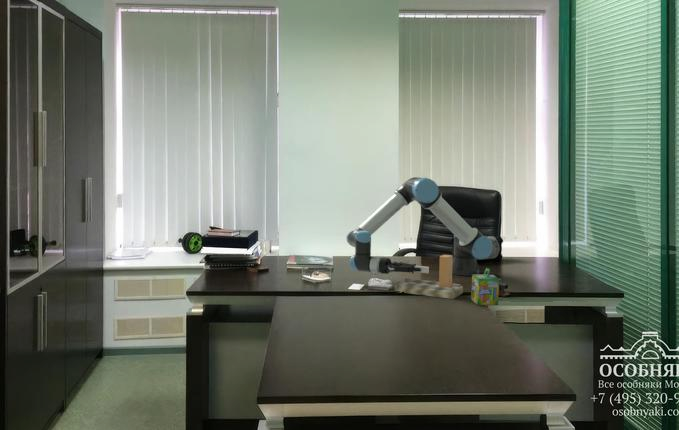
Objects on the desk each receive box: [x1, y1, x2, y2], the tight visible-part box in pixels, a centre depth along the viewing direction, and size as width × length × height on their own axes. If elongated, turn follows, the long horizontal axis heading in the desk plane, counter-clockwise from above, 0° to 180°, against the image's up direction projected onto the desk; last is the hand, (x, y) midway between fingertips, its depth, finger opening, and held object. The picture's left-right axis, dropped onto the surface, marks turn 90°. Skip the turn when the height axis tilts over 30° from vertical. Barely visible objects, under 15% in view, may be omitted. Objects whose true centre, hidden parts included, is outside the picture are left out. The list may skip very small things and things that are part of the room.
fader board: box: [394, 278, 464, 300], centre depth 265 cm, size 28×13×4 cm, turn 61°
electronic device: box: [498, 278, 511, 298], centre depth 260 cm, size 4×10×8 cm, turn 43°
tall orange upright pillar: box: [438, 254, 453, 288], centre depth 260 cm, size 4×6×14 cm, turn 151°
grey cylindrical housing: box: [450, 233, 504, 262], centre depth 346 cm, size 15×29×15 cm, turn 115°
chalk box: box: [470, 267, 500, 306], centre depth 245 cm, size 9×9×15 cm
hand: (428, 270), depth 264 cm, fingers closed
